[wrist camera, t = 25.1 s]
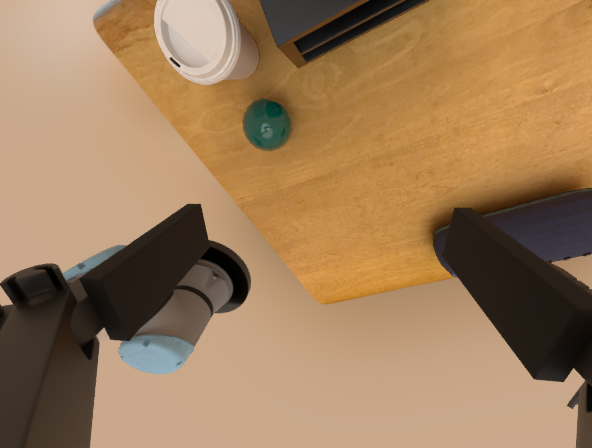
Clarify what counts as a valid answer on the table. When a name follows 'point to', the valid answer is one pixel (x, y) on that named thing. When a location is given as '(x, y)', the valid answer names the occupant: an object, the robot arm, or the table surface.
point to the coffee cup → (205, 40)
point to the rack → (326, 23)
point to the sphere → (267, 124)
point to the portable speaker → (541, 226)
